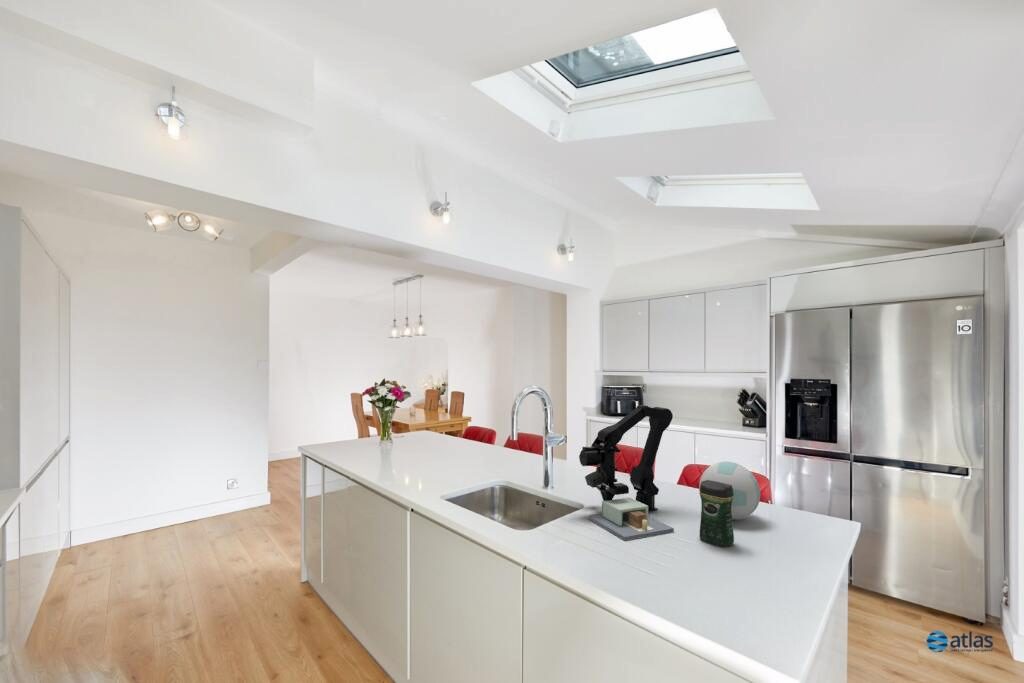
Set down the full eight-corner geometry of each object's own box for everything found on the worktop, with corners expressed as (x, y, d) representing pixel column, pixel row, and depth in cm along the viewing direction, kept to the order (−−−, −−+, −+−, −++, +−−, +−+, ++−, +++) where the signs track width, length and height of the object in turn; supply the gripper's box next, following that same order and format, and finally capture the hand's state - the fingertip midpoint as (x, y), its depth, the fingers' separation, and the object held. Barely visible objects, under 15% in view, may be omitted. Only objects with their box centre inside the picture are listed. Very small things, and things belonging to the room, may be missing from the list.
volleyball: (754, 533, 151) (754, 472, 152) (692, 519, 163) (692, 462, 164) (764, 516, 167) (764, 461, 167) (706, 505, 179) (707, 454, 180)
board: (634, 512, 169) (634, 501, 169) (673, 531, 150) (673, 519, 150) (588, 519, 160) (588, 507, 160) (624, 540, 142) (624, 527, 142)
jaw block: (638, 522, 154) (638, 510, 154) (646, 526, 151) (646, 514, 151) (629, 524, 153) (629, 512, 153) (636, 528, 149) (637, 516, 149)
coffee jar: (737, 543, 142) (737, 483, 143) (725, 549, 137) (726, 487, 137) (707, 533, 149) (708, 476, 150) (695, 539, 144) (695, 480, 145)
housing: (622, 508, 169) (622, 494, 169) (648, 521, 156) (648, 505, 156) (595, 512, 164) (595, 497, 164) (619, 525, 151) (619, 510, 151)
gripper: (575, 460, 173) (574, 501, 173) (603, 472, 156) (603, 518, 156) (599, 458, 178) (599, 498, 177) (630, 469, 161) (629, 514, 160)
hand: (606, 507), depth 168 cm, fingers closed
